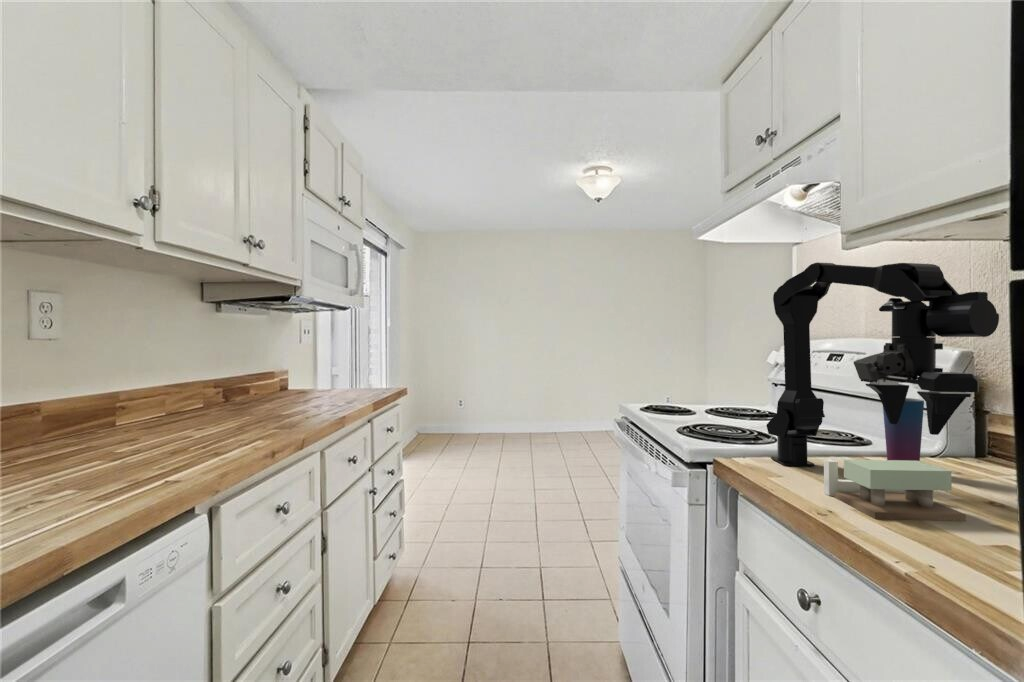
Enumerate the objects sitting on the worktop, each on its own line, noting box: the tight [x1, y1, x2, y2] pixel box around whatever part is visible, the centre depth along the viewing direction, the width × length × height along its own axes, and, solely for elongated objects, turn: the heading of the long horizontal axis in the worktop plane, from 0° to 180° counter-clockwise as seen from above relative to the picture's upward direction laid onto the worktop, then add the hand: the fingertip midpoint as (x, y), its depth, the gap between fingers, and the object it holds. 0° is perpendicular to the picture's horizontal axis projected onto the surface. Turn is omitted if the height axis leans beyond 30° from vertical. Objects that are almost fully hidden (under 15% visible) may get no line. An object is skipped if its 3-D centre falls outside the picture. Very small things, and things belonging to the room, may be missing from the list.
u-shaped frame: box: [823, 459, 905, 497], centre depth 83 cm, size 2×14×6 cm, turn 86°
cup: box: [882, 397, 925, 461], centre depth 99 cm, size 7×7×15 cm
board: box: [843, 459, 953, 491], centre depth 76 cm, size 12×6×3 cm, turn 86°
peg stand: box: [834, 485, 967, 522], centre depth 76 cm, size 10×13×4 cm
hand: (912, 429), depth 80 cm, fingers open, 9 cm apart
